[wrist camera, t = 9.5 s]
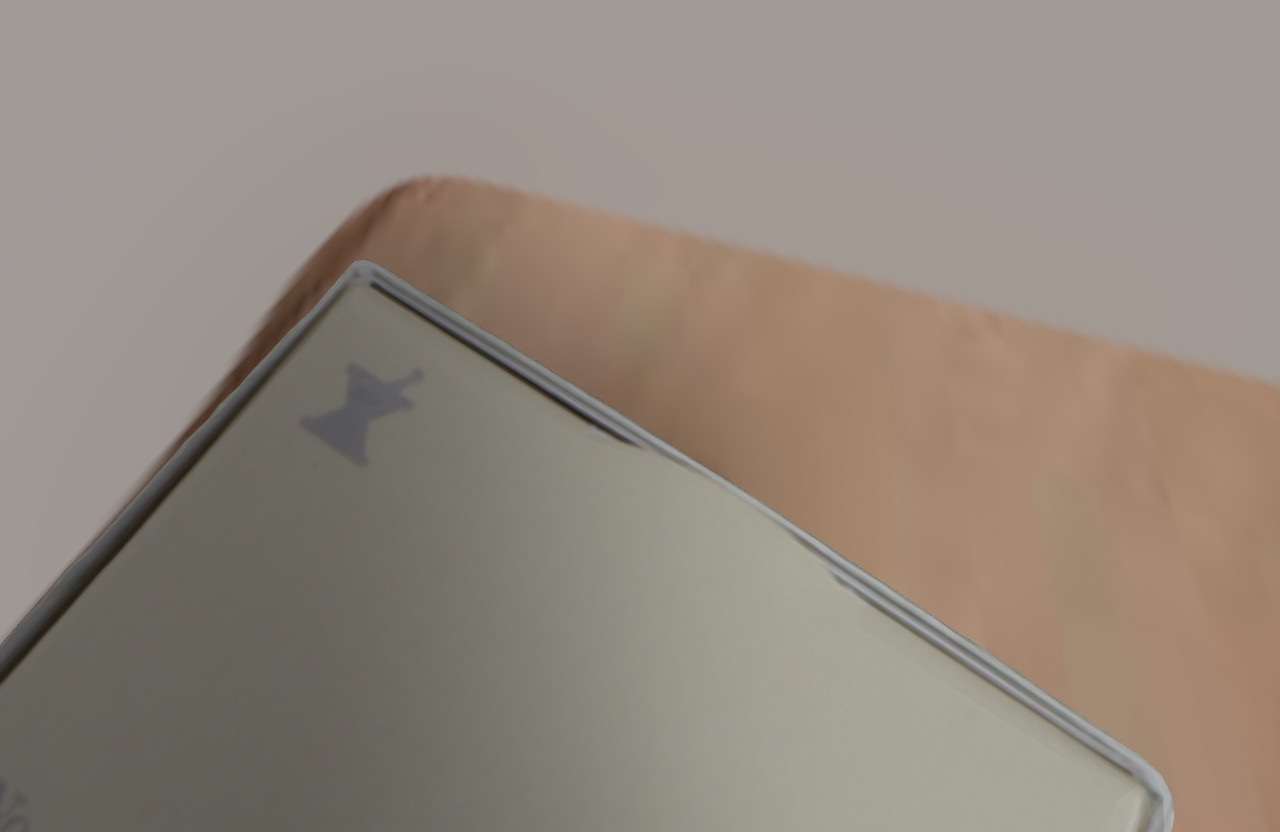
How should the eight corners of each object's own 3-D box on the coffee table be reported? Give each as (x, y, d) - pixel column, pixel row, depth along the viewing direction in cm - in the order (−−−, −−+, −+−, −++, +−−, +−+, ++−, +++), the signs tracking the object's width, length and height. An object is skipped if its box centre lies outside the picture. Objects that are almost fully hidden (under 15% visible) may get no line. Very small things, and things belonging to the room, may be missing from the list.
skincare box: (418, 688, 15) (-246, 836, 4) (540, 519, 16) (339, 220, 5) (660, 872, 14) (828, 1900, 3) (770, 678, 15) (1221, 788, 4)
